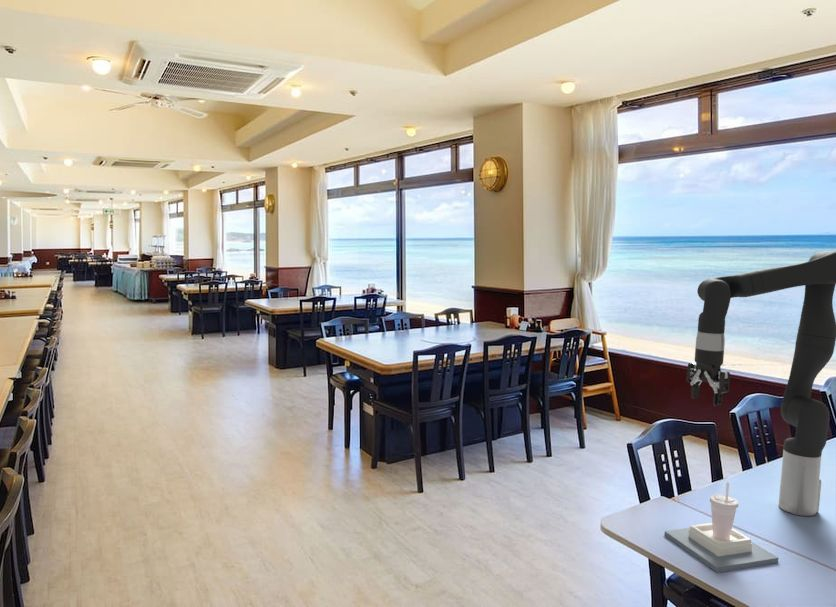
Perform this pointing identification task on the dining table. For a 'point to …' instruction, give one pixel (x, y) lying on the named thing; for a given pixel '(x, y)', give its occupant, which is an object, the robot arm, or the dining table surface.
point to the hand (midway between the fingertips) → (705, 401)
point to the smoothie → (723, 514)
